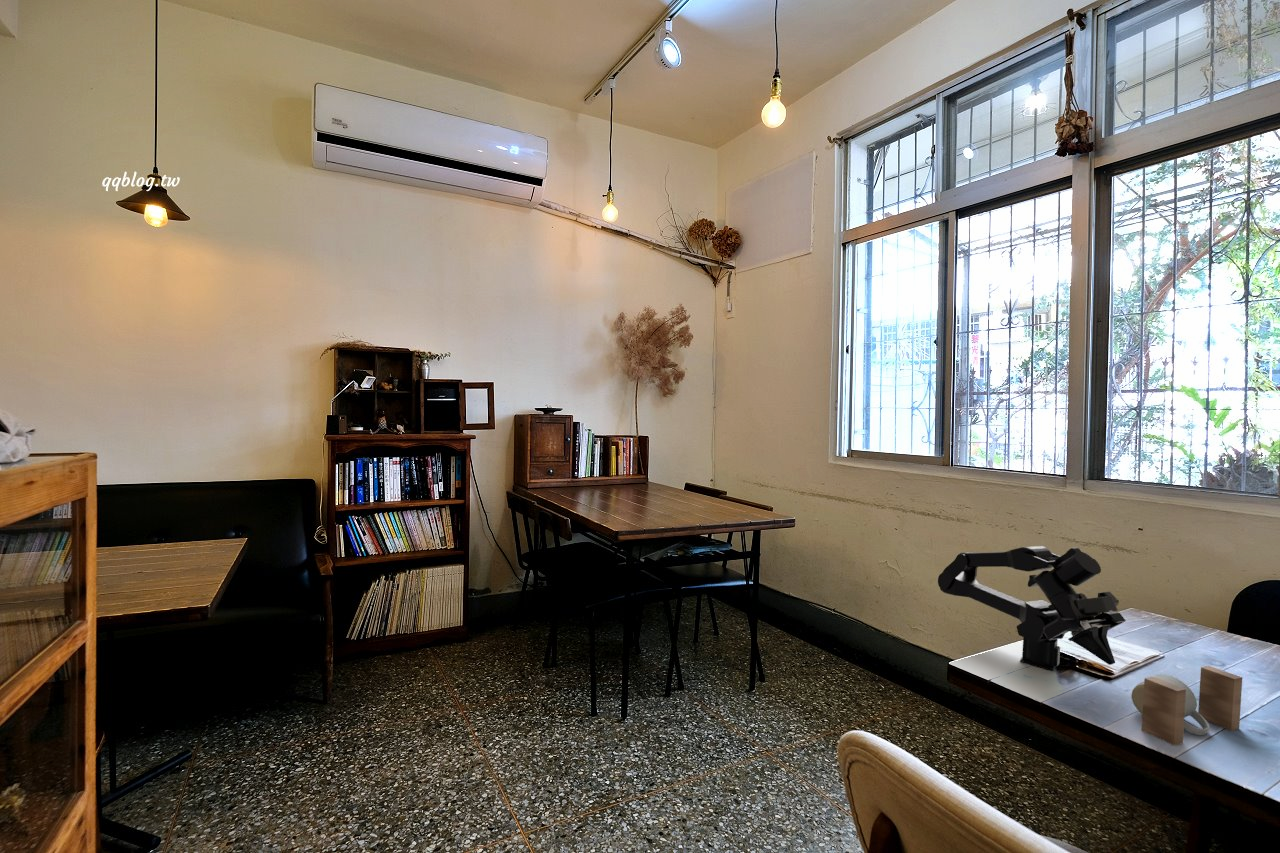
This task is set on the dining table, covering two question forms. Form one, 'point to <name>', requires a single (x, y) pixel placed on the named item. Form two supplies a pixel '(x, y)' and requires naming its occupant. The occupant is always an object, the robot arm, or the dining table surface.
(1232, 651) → the dining table surface
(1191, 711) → the ceramic mug
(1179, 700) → the walnut bookends
